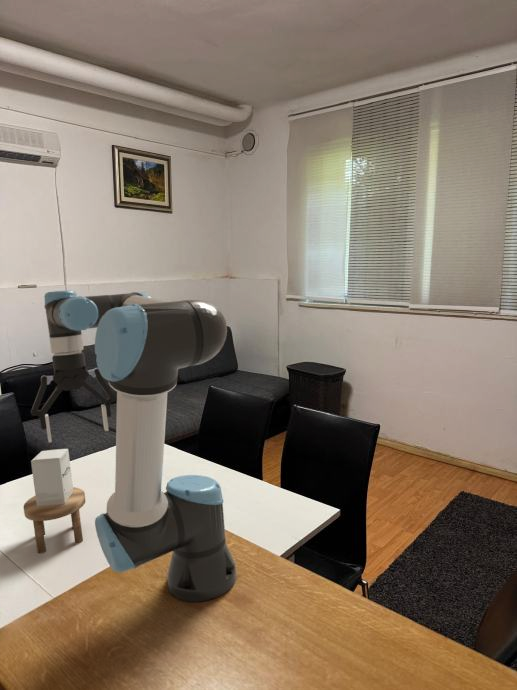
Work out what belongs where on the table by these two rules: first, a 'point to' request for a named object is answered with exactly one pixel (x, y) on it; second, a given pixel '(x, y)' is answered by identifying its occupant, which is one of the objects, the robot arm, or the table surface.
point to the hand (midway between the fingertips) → (78, 435)
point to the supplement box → (52, 477)
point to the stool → (55, 516)
